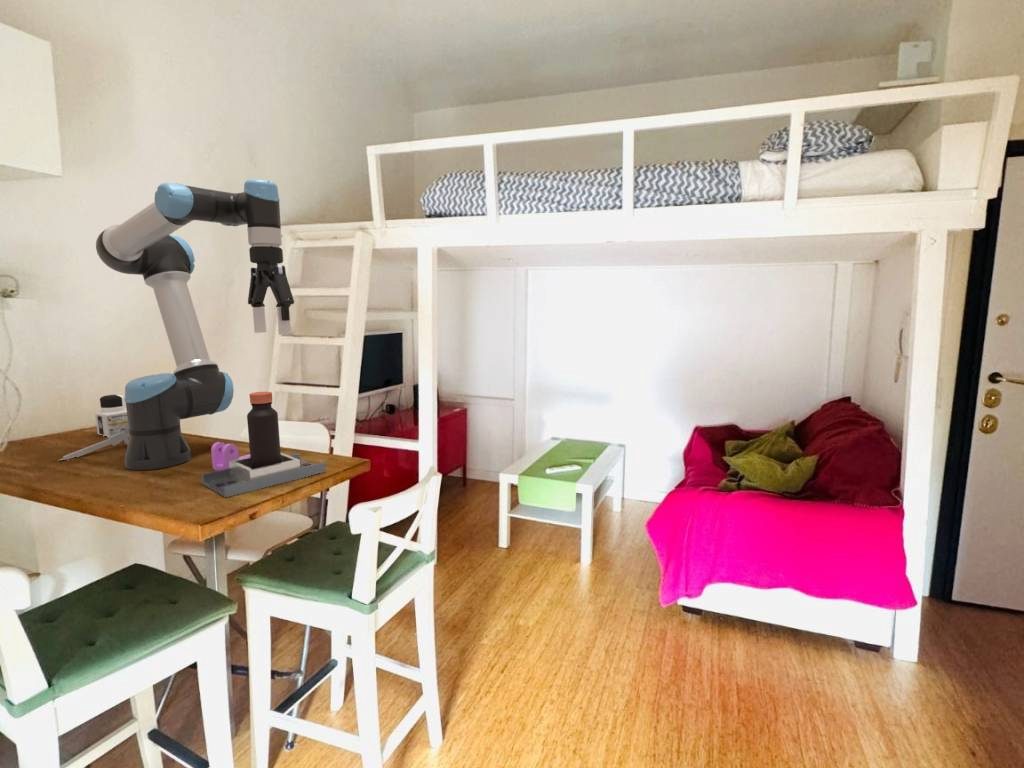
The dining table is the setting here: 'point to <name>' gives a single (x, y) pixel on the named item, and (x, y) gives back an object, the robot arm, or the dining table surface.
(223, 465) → the bracket
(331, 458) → the dining table surface
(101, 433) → the container
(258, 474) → the grey base plate
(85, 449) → the caliper
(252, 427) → the vinegar
